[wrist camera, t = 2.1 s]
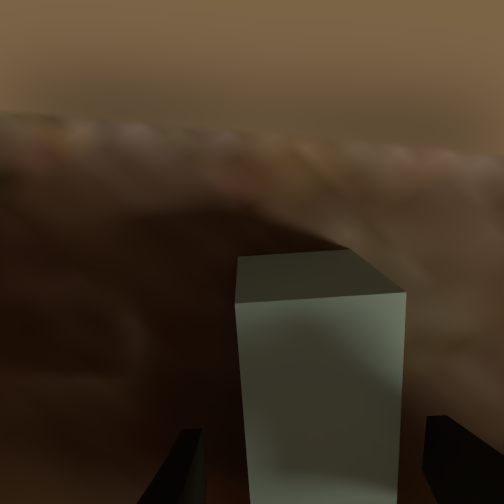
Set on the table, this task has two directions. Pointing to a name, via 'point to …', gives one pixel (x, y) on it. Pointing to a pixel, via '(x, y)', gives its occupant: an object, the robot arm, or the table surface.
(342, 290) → the tall sage green box
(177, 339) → the table surface
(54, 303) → the table surface
